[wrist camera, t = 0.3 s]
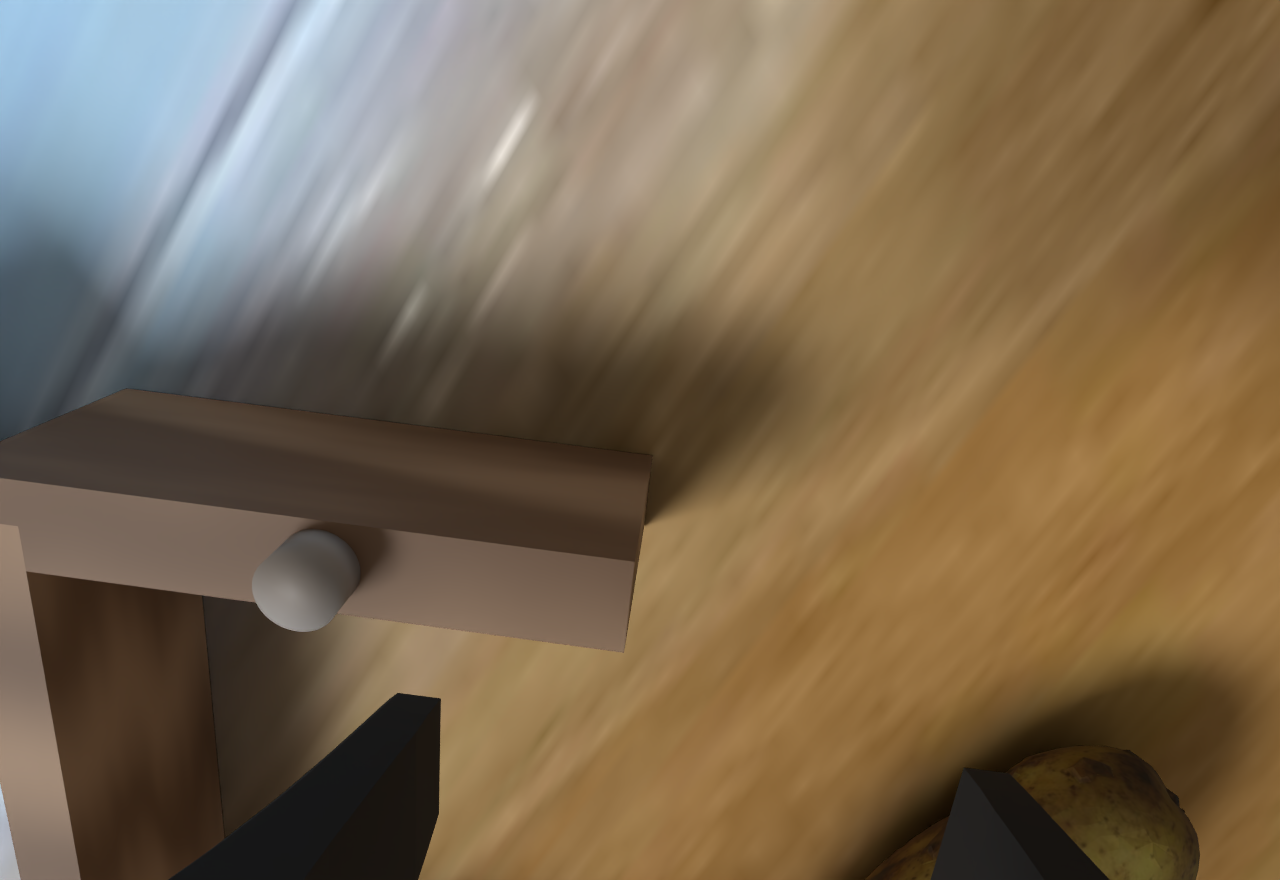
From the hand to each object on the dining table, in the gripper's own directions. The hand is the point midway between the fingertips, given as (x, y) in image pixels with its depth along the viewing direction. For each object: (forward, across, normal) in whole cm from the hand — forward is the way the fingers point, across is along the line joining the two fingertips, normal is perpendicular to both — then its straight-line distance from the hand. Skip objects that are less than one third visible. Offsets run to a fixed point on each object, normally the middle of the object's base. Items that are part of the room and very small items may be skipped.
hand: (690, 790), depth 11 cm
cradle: (+10, +8, +9) cm, 16 cm away
